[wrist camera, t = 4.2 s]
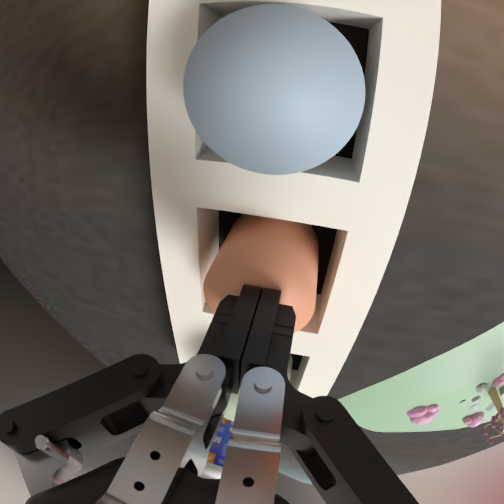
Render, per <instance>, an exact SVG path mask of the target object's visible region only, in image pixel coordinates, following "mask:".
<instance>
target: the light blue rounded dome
mask: <svg viewBox="0 0 504 504" xmlns="http://www.w3.org/2000/svg"><path fill="white" fill-rule="evenodd" d="M365 92H366V91H365V79H364V75H363V71H362V67H361V64H360V62H359V59H358V57H357V55H356V53H355V51H354V50H353V48H352V46H351V45H350V43H349V42H348V41H347V39H346V38H345V37H344V36H343V35H342V34H341V33H340V32H339V31H338V30H337V29H336V28H335V27H334V26H333V25H331V24H330V23H329V22H327V21H326V20H325V19H323V18H321V17H319V16H317V15H316V14H314V13H311V12H309V11H306V10H304V9H301V8H297V7H293V6H288V5H280V4H263V5H256V6H250V7H247V8H243V9H240V10H238V11H235V12H233V13H231V14H228V15H227V16H225V17H223V18H222V19H220V20H218V21H217V22H216V23H215V24H213V25H212V26H211V27H210V28H209V29H208V30H207V31H206V32H205V33H204V34H203V35H202V36H201V38H200V39H199V40H198V42H197V43H196V44H195V46H194V48H193V50H192V52H191V54H190V56H189V59H188V61H187V64H186V68H185V73H184V80H183V95H184V102H185V107H186V110H187V113H188V116H189V119H190V121H191V123H192V125H193V127H194V129H195V130H196V132H197V133H198V135H199V136H200V138H201V139H202V140H203V141H204V143H205V144H206V145H207V146H208V147H209V148H210V149H211V150H212V151H213V152H215V153H216V154H217V155H219V156H220V157H221V158H223V159H224V160H226V161H228V162H229V163H231V164H233V165H235V166H237V167H240V168H242V169H245V170H248V171H251V172H255V173H261V174H269V175H287V174H293V173H299V172H302V171H306V170H309V169H311V168H314V167H316V166H318V165H320V164H322V163H324V162H325V161H327V160H329V159H330V158H331V157H333V156H334V155H335V154H337V153H338V152H339V151H340V150H341V149H342V148H343V147H344V146H345V145H346V144H347V142H348V141H349V140H350V138H351V137H352V136H353V134H354V132H355V130H356V128H357V127H358V125H359V122H360V119H361V117H362V113H363V109H364V104H365Z"/></svg>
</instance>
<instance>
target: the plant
mask: <svg viewBox="0 0 504 504" xmlns="http://www.w3.org/2000/svg"><path fill="white" fill-rule="evenodd" d="M338 401H339V402H341V404H342V405H343V406H344V407H345V409H346V410H347V411H348V413H349V414H350V415H351V417H352V418H353V419H354V421H355V422H356V423H357V424H358V425H359V426H361V427H363V428H365V429H368V430H372V431H376V432H420V431H438V430H451V429H459V428H464V427H475V426H477V425H479V424H482V423H486V422H489V421H491V424H487V425H491V427H492V428H495V427H496V421H501V420H502V422H503V423H500V424H499V428H500V429H502V428H503V427H504V322H503V323H501V324H499V325H498V326H496V327H494V328H492V329H491V330H489V331H487V332H485V333H483V334H482V335H480V336H478V337H476V338H474V339H472V340H470V341H468V342H466V343H464V344H462V345H460V346H458V347H456V348H454V349H452V350H450V351H448V352H446V353H444V354H442V355H440V356H437V357H435V358H433V359H431V360H428V361H426V362H424V363H422V364H420V365H418V366H416V367H414V368H412V369H409V370H407V371H405V372H403V373H401V374H398V375H396V376H394V377H392V378H389V379H387V380H385V381H382V382H380V383H377V384H375V385H372V386H370V387H367V388H365V389H362V390H360V391H357V392H355V393H353V394H350V395H348V396H346V397H343V398H341V399H338ZM487 425H486V426H487ZM485 428H486V427H485ZM484 430H485V429H484ZM498 430H499V429H498V428H497V429H496V431H498ZM487 433H488V432H487V431H484V432H482V435H487ZM502 433H504V430H503V431H502ZM502 433H501V434H502ZM501 434H500V433H499V435H498V436H500V435H501ZM498 436H495V437H498ZM501 436H502V435H501ZM492 438H493V437H492ZM489 439H490V438H489V437H488V438H486V441H488V440H489ZM502 439H504V437H503V436H502ZM495 440H496V439H495ZM493 441H494V440H491V441H489V444H492V443H493Z"/></svg>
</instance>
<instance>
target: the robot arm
mask: <svg viewBox="0 0 504 504" xmlns="http://www.w3.org/2000/svg"><path fill="white" fill-rule="evenodd" d="M281 292H282V291H280V290H275V289H269V288H263V291H262V287H258V286H252V285H247V284H244V285H243V287H242V290H241V292H240V295H239V296H235V295H230V294H228V295H227V296H226V297H225V298H224V299H222V300H221V301H220V302H219V305H218V307H217V309H216V312H215V314H214V316H213V319H212V322H211V323H210V326H209V328H208V330H207V333H206V335H205V337H204V340H203V342H202V344H201V347H200V349H199V351H198V353H197V354H196V356H194V357H192V358H190V359H189V360H188V361H187V362H185V363H182V364H173V365H159V363H158V362H157V360H156V359H154V358H153V357H151V356H149V355H146V354H137V355H134V356H131V357H129V358H127V359H125V360H122V361H120V362H118V363H116V364H114V365H112V366H109V367H107V368H105V369H103V370H101V371H99V372H96V373H95V374H92V375H90V376H87V377H85V378H83V379H81V380H79V381H76V382H74V383H72V384H69V385H67V386H65V387H62V388H60V389H58V390H56V391H53V392H51V393H49V394H46V395H44V396H41V397H39V398H36V399H34V400H32V401H29V402H27V403H24V404H22V405H20V406H17V407H15V408H12V409H9V410H7V411H5V412H3V413H2V414H1V415H0V441H1V442H3V443H4V444H6V445H7V446H8V447H10V448H11V449H12V450H13V451H14V452H15V454H16V457H17V460H18V463H19V466H20V469H21V472H22V474H23V477H24V480H25V483H26V485H27V488H28V490H29V493H30V495H31V497H30V498H29V499H28V500H27V501H26V503H25V504H289V503H288V502H287V501H286V500H285V499H283V498H282V497H281V496H279V495H277V494H276V493H275V491H276V483H277V475H278V468H279V460H280V451H281V443H283V444H285V445H287V446H289V448H290V449H291V451H292V453H293V454H294V456H295V457H296V459H297V461H298V462H299V464H300V465H301V467H302V468H303V470H304V471H305V473H306V474H307V476H308V477H309V479H310V480H311V482H312V483H313V485H314V486H315V488H316V489H317V491H318V492H319V494H320V495H321V496H322V498H323V500H324V501H325V502H326V504H419V503H418V502H417V501H416V499H415V498H414V497H413V496H412V494H411V493H410V492H409V490H408V489H407V488H406V487H405V485H404V484H403V483H402V482H401V480H400V479H399V478H398V476H397V475H396V474H395V473H394V471H393V470H392V469H391V467H390V466H389V465H388V464H387V462H386V461H385V460H384V458H383V457H382V456H381V455H380V453H379V452H378V451H377V449H376V448H375V447H374V445H373V444H372V443H371V442H370V440H369V439H368V438H367V436H366V435H365V434H364V432H363V431H362V430H361V428H360V427H359V426H358V424H357V423H356V422H355V421H354V419H353V418H352V417H351V415H350V414H349V413H348V411H347V410H346V409H345V407H344V406H343V405H342V404H341V402H339V401H338V400H337V399H335V398H333V397H330V396H318V397H315V398H312V397H310V396H307V395H305V394H303V393H301V392H299V391H298V390H296V389H295V388H294V387H293V386H292V385H291V383H290V381H289V379H288V376H287V369H288V363H289V358H290V352H291V346H292V340H293V334H294V327H295V321H296V315H295V312H294V309H293V307H292V306H289V305H283V304H280V298H281ZM239 389H240V393H239V398H238V403H237V408H236V413H235V418H234V423H233V428H232V432H231V435H230V438H229V441H228V445H227V450H226V455H225V460H224V464H223V469H222V474H221V479H207V478H201V475H202V472H203V470H204V468H205V465H206V462H207V458H208V453H209V450H210V448H211V445H212V443H213V440H214V438H215V436H216V433H217V431H218V429H219V426H220V424H221V421H222V419H223V417H224V414H225V412H226V408H227V405H228V402H229V399H230V396H231V393H234V394H238V392H239ZM138 432H139V434H138V436H137V438H136V440H135V441H134V443H133V445H132V447H131V448H130V450H129V452H128V454H127V456H126V457H122V458H119V459H116V460H113V461H111V462H109V463H107V464H105V465H103V466H101V467H98V468H96V469H94V470H92V471H90V472H88V473H86V474H83V475H81V476H79V477H77V478H74V479H72V480H69V479H70V478H71V477H72V476H74V475H75V474H77V473H78V472H79V471H80V470H81V468H82V462H83V459H82V458H83V457H84V456H87V455H90V454H92V453H94V452H97V451H99V450H101V449H104V448H105V447H108V446H110V445H112V444H114V443H117V442H119V441H121V440H123V439H125V438H127V437H129V436H132V435H134V434H136V433H138ZM280 442H281V443H280ZM68 480H69V481H68Z"/></svg>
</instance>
